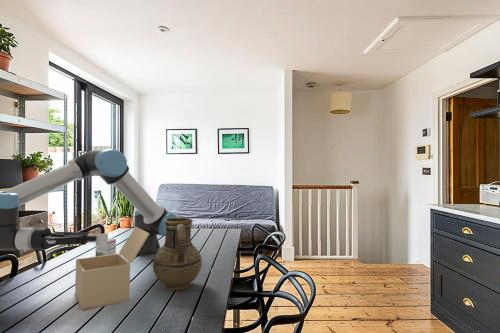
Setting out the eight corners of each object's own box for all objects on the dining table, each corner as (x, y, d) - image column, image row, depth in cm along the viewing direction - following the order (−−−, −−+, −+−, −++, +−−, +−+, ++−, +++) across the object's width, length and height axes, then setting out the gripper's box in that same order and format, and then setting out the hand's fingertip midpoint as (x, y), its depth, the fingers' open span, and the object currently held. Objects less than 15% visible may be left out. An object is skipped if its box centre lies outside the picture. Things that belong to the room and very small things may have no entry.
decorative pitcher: (206, 294, 109) (207, 223, 110) (153, 300, 103) (155, 225, 104) (196, 274, 130) (197, 214, 130) (151, 279, 124) (153, 216, 124)
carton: (75, 293, 108) (76, 259, 108) (117, 285, 116) (118, 253, 116) (82, 310, 95) (82, 271, 95) (129, 300, 103) (130, 264, 104)
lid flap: (135, 226, 120) (136, 227, 120) (118, 252, 116) (120, 253, 116) (148, 232, 108) (149, 233, 108) (129, 262, 104) (131, 263, 104)
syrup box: (116, 272, 131) (116, 238, 132) (105, 277, 126) (106, 241, 126) (105, 271, 133) (106, 237, 133) (94, 275, 128) (95, 239, 128)
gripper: (44, 245, 114) (112, 244, 117) (23, 254, 101) (100, 252, 104) (44, 224, 114) (112, 224, 117) (24, 231, 101) (101, 230, 104)
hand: (107, 237), depth 111 cm, fingers closed
